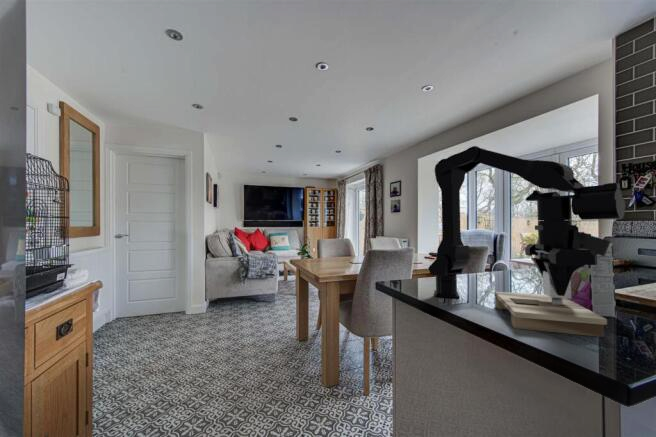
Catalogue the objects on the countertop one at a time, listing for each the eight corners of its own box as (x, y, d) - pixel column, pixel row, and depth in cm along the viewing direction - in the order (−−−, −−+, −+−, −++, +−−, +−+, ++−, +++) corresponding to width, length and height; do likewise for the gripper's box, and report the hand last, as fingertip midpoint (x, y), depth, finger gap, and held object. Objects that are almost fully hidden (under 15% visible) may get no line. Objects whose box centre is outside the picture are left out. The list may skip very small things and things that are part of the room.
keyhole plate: (494, 305, 71) (494, 291, 71) (561, 310, 66) (561, 295, 66) (515, 330, 54) (515, 311, 54) (607, 339, 49) (606, 319, 50)
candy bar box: (559, 303, 72) (557, 240, 73) (582, 304, 71) (579, 240, 72) (591, 317, 61) (588, 242, 62) (618, 318, 60) (614, 242, 61)
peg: (542, 315, 62) (541, 270, 62) (564, 317, 60) (563, 271, 61) (550, 321, 58) (548, 273, 58) (573, 323, 57) (572, 274, 57)
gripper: (633, 218, 48) (637, 309, 48) (578, 220, 66) (581, 286, 65) (555, 219, 52) (558, 303, 52) (523, 221, 70) (525, 284, 69)
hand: (556, 293), depth 59 cm, fingers closed on peg, 4 cm apart
